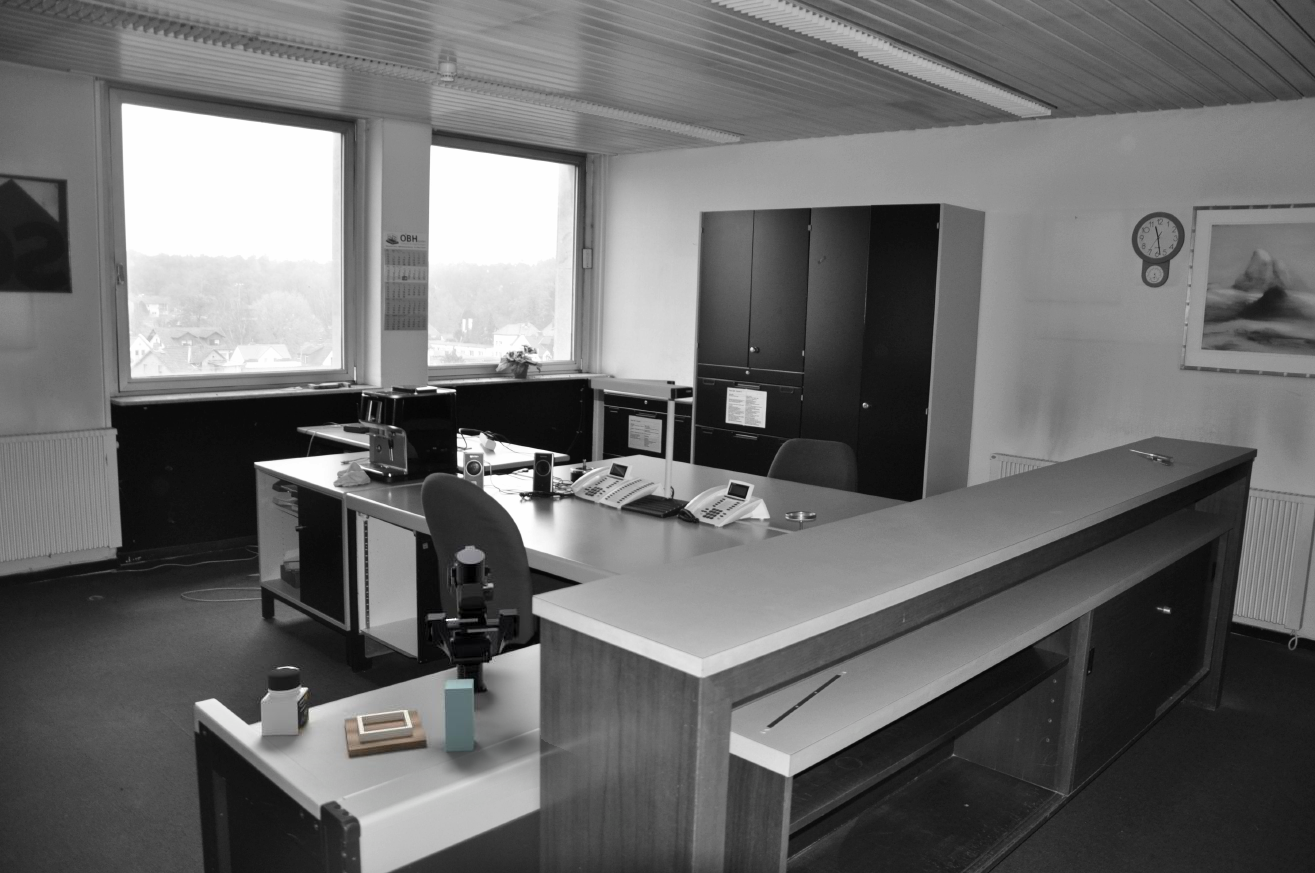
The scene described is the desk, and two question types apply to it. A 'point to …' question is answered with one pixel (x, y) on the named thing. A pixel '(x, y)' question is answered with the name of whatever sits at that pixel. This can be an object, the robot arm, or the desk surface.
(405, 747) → the wooden tray with frame
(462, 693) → the pale blue tall block
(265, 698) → the medicine bottle
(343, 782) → the desk surface
